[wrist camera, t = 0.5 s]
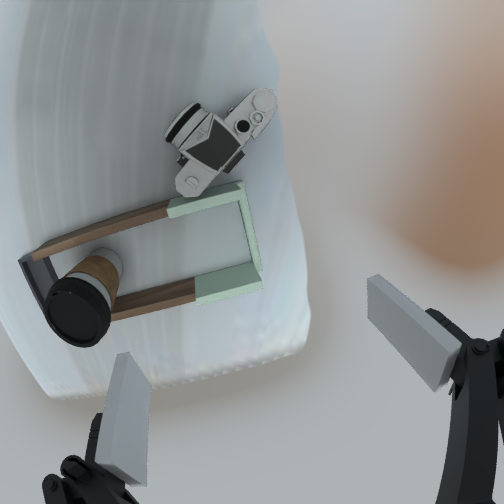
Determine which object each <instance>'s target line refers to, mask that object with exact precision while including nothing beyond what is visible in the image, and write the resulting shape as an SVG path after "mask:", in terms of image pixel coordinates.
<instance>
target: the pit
mask: <svg viewBox="0 0 504 504" xmlns="http://www.w3.org/2000/svg"><path fill="white" fill-rule="evenodd" d="M32 253H33V252H32ZM32 253H30V254H27V255H25V256H23V257H21V258H20V259H19V260H18V262H19V264H20V267H21V269H22V271H23V273H24V276H25V278H26V280H27V282H28V284H29V286H30V289H31V291H32V293H33V295H34V297H35V299H36V300H37V302H38V304H39V306H40V308H41V310H42V312H43V305H44V302H45V299H46V297H47V295H48V291H49V290H50V288H51V286H52V285H53V284H54V283H55V282H56V281H58V280H59V279H58V277H57V275H56V273H55V271H54V268H53V266H52V264H51V261H50V259H49V256H47V257H45V258H42V259H40V260H37V261H33V258H32V256H31V254H32ZM43 314H44V312H43Z"/></svg>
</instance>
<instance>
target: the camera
mask: <svg viewBox="0 0 504 504" xmlns="http://www.w3.org/2000/svg"><path fill="white" fill-rule="evenodd" d="M276 109H277V102H276V96H275V95H274V94H273V93H272V90H271V89H270V90H268V89H254V90H253V91H252V92H251V93H250V94H249V95H248V96H247V97H246V98H244V100H243V101H242V102H241V103H240V104H239V105H238V106H237V107H235V108H234V107H231V108H230V109H229V110H228V111H227V112H228V113H227V114H228V116H227V117H226V118H225V119H224V120H223V119H221V118H220V117H219V116H218V115H216V114H215V113H213V112H211V113H210V114H209V113H208V112H205V111H204V109H203V108H202V107H201V105H200V104H199V103H191V104H190V105H188V106H187V107H186V108H185V109H184V110H183V111H182V112H181V113H180V114H179V115H178V116H177V118H176V119H175V120H174V121H173V122H172V124H171V125H170V126H169V128H168V129H167V131H166V132H165V134H164V137H165V139H166V141H167V142H170V143H171V144H172V145H175V146H176V148H177V149H179V151H180V152H181V153H182V154H183V155H182V154H181V156H180V157H179V158H178V159H177V160H176V161H177V162H178V163H179V165H181V166H182V167H183V168H182V169H181V170H180V171H179V173H178V174H177V176H176V177H175V187H176V190H177V191H178V192H179V193H180V194H182V195H183V196H184V197H185V198H186V197H198V196H199V195H200V194H201V193H202V192H203V191H204V190H205V188H206V187H207V186H208V185H209V184H210V182H211V181H212V180H213V179H214V178H215V176H216V175H218V174H219V173H220V171H221V170H222V171H223V172H225V173H227V174H228V173H229V172H230V171H231V170H232V169H233V168H234V166H235V165H236V164H237V163H238V162H239V161H240V160H241V158H242V157H243V156H244V155H245V154H244V153H243V151H242V150H241V148H242V147H243V146H244V145H245V142H246V141H247V140H248V139H249V138H250V137H251V136H252V137H253V139H254V140H255V139H256V138H257V137H258V136H259V134H260V133H261V132H262V131H263V130H264V128H265V127H266V126H267V125H268V123H269V122H270V120H271V118H272V116H273V115H274V112H275V110H276Z"/></svg>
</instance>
